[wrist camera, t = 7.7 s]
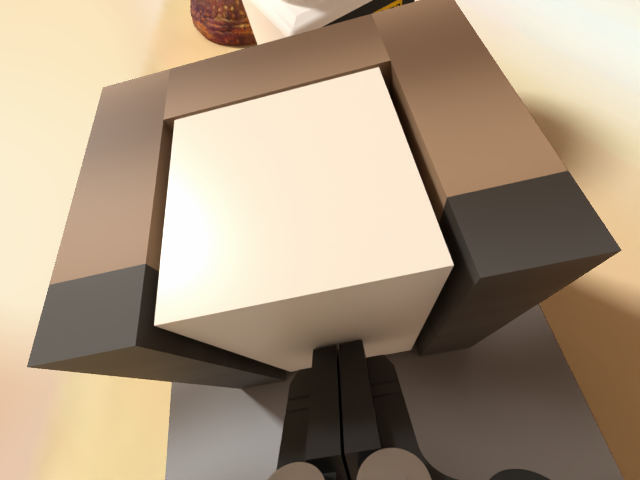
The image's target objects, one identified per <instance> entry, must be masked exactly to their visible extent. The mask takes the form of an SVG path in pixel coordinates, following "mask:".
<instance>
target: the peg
mask: <svg viewBox="0 0 640 480" xmlns="http://www.w3.org/2000/svg"><path fill="white" fill-rule="evenodd" d="M453 266H454V264H453V261H452V259H451V256H450V253H449V251H448V248H447V246H446V243H445V240H444V238H443V235H442V232H441V230H440V227H439V224H438V222H437V219H436V216H435V214H434V211H433V209H432V206H431V203H430V201H429V198H428V195H427V193H426V190H425V187H424V185H423V182H422V180H421V177H420V174H419V172H418V169H417V166H416V164H415V161H414V158H413V156H412V153H411V150H410V148H409V145H408V143H407V140H406V137H405V135H404V132H403V129H402V127H401V124H400V121H399V119H398V116H397V114H396V111H395V108H394V106H393V103H392V100H391V98H390V95H389V92H388V90H387V87H386V85H385V82H384V79H383V77H382V74H381V71H380V69H379V67H377V68H373V69H369V70H365V71H362V72H358V73H354V74H350V75H346V76H342V77H338V78H335V79H331V80H327V81H323V82H319V83H315V84H312V85H308V86H304V87H300V88H296V89H292V90H288V91H285V92H281V93H277V94H273V95H269V96H265V97H262V98H258V99H254V100H250V101H246V102H242V103H238V104H235V105H231V106H227V107H223V108H219V109H215V110H211V111H208V112H204V113H200V114H196V115H192V116H188V117H185V118H181V119H177V120H175V121H174V131H173V140H172V150H171V160H170V170H169V180H168V190H167V200H166V210H165V220H164V230H163V240H162V250H161V260H160V270H159V280H158V290H157V300H156V310H155V320H154V326H157V327H159V328H162V329H165V330H168V331H171V332H174V333H177V334H180V335H183V336H186V337H189V338H192V339H195V340H198V341H201V342H204V343H207V344H210V345H213V346H216V347H219V348H222V349H224V350H227V351H230V352H233V353H236V354H239V355H242V356H245V357H248V358H251V359H254V360H257V361H260V362H263V363H266V364H269V365H272V366H275V367H278V368H281V369H284V370H287V371H289V372H293V371H298V370H300V369H306V368H311V367H312V356H313V349H317V348H323V347H328V346H333V345H337V346H338V349H339V344H344V343H349V342H355V341H360V340H362V341H363V345H364V350H365V354H366V357H372V356H377V355H387V354H392V353H398V352H403V351H409V350H411V349H412V347H413V345H414V343H415V341H416V339H417V337H418V335H419V333H420V331H421V329H422V327H423V325H424V323H425V321H426V319H427V317H428V315H429V313H430V311H431V309H432V308H433V306H434V304H435V302H436V300H437V298H438V296H439V294H440V292H441V290H442V288H443V286H444V284H445V282H446V280H447V278H448V276H449V274H450V272H451V270H452V268H453Z"/></svg>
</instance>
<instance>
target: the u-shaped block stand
mask: <svg viewBox="0 0 640 480" xmlns="http://www.w3.org/2000/svg"><path fill="white" fill-rule="evenodd" d="M377 67H379V69H380V71H381V74H382V77H383V79H384V82H385V85H386V87H387V90H388V92H389V95H390V98H391V100H392V103H393V106H394V108H395V111H396V114H397V116H398V119H399V121H400V124H401V127H402V129H403V132H404V135H405V137H406V140H407V143H408V145H409V148H410V150H411V153H412V156H413V158H414V161H415V164H416V166H417V169H418V172H419V174H420V177H421V180H422V182H423V185H424V187H425V190H426V193H427V195H428V198H429V201H430V203H431V206H432V209H433V211H434V214H435V216H436V219H437V222H438V224H439V227H440V230H441V232H442V235H443V238H444V240H445V243H446V246H447V248H448V251H449V253H450V256H451V259H452V261H453V264H454V266H453V268H452V270H451V272H450V274H449V276H448V278H447V280H446V282H445V284H444V286H443V288H442V290H441V292H440V294H439V296H438V298H437V300H436V302H435V304H434V306H433V308H432V309H431V311H430V313H429V315H428V317H427V319H426V321H425V323H424V325H423V327H422V329H421V331H420V333H419V335H418V337H417V339H416V341H415V343H414V345H413V347H412V349H411V350H409V351H403V352H398V353H392V354H387V355H385V356H386V357H387V358H388V359H389V360H390V361H391V362H392V363H393V364H394V366H395V370H396V373H397V376H398V380H399V383H400V386H401V390H402V393H403V396H404V400H405V403H406V406H407V410H408V413H409V416H410V420H411V423H412V426H413V430H414V433H415V436H416V440H417V443H418V446H419V449H420V451H421V453H422V454H423V456H424V457H425V459H426V460H427V461H428V462H429V463H430V464H431V465H432V466H433V467H434V468H435V469H437V470H438V471H439V472H441V473H443V474H445V475H447V476H449V477H451V478H454V479H458V480H490V478H491V477H492V476H493V475H495V474H496V473H498V472H500V471H503V470H507V469H525V470H529V471H533V472H536V473H538V474H541V475H543V476H545V477H547V478H548V479H550V480H624V478H623V476H622V474H621V472H620V470H619V468H618V466H617V464H616V462H615V460H614V458H613V456H612V454H611V452H610V450H609V448H608V445H607V443H606V441H605V439H604V437H603V435H602V433H601V431H600V429H599V427H598V425H597V423H596V421H595V419H594V417H593V415H592V413H591V410H590V408H589V406H588V404H587V402H586V400H585V398H584V396H583V394H582V392H581V390H580V388H579V386H578V384H577V382H576V380H575V378H574V376H573V373H572V371H571V369H570V367H569V365H568V363H567V361H566V359H565V357H564V355H563V353H562V351H561V349H560V347H559V345H558V343H557V341H556V339H555V336H554V334H553V332H552V330H551V328H550V326H549V324H548V322H547V320H546V318H545V316H544V314H543V312H542V310H541V308H540V306H539V303H540V302H542V301H544V300H545V299H547V298H548V297H550V296H551V295H553V294H554V293H556V292H557V291H559V290H561V289H562V288H564V287H565V286H567V285H568V284H570V283H571V282H573V281H575V280H576V279H578V278H579V277H581V276H582V275H584V274H585V273H587V272H589V271H590V270H592V269H593V268H595V267H596V266H598V265H599V264H601V263H602V262H604V261H606V260H607V259H609V258H610V257H612V256H613V255H615V254H616V253H618V252H620V251H621V249H620V247H619V246H618V244H617V243H616V241H615V240H614V238H613V237H612V235H611V234H610V232H609V231H608V229H607V228H606V226H605V225H604V223H603V222H602V220H601V219H600V217H599V216H598V214H597V213H596V211H595V210H594V208H593V207H592V205H591V204H590V202H589V201H588V199H587V198H586V196H585V195H584V193H583V192H582V190H581V189H580V187H579V186H578V184H577V183H576V181H575V180H574V179H573V177H572V176H571V174H570V173H569V171H568V170H567V168H566V167H565V165H564V164H563V162H562V161H561V159H560V158H559V156H558V155H557V153H556V152H555V150H554V149H553V147H552V146H551V144H550V143H549V141H548V140H547V138H546V137H545V135H544V134H543V132H542V131H541V129H540V128H539V126H538V125H537V123H536V122H535V120H534V119H533V117H532V116H531V114H530V113H529V111H528V110H527V108H526V107H525V105H524V104H523V102H522V101H521V99H520V98H519V96H518V95H517V93H516V92H515V90H514V89H513V87H512V86H511V84H510V83H509V81H508V80H507V78H506V77H505V75H504V74H503V72H502V71H501V69H500V68H499V66H498V65H497V63H496V62H495V60H494V59H493V57H492V56H491V54H490V53H489V51H488V50H487V48H486V47H485V45H484V44H483V42H482V41H481V39H480V38H479V36H478V35H477V33H476V32H475V30H474V29H473V27H472V26H471V24H470V23H469V21H468V20H467V18H466V17H465V15H464V14H463V12H462V11H461V9H460V8H459V6H458V5H457V3H456V2H455V0H420V1H416V2H412V3H409V4H405V5H401V6H398V7H394V8H391V9H387V10H383V11H380V12H376V13H372V14H369V15H365V16H361V17H358V18H354V19H351V20H347V21H343V22H340V23H336V24H332V25H329V26H325V27H321V28H318V29H314V30H311V31H307V32H303V33H300V34H296V35H292V36H289V37H285V38H281V39H278V40H274V41H271V42H267V43H263V44H260V45H256V46H252V47H249V48H245V49H241V50H238V51H234V52H231V53H227V54H223V55H220V56H216V57H212V58H209V59H205V60H201V61H198V62H194V63H191V64H187V65H183V66H180V67H176V68H172V69H169V70H165V71H161V72H158V73H154V74H151V75H147V76H143V77H140V78H136V79H132V80H129V81H125V82H122V83H118V84H114V85H111V86H107V87H104V88H103V90H102V93H101V97H100V100H99V104H98V108H97V111H96V115H95V120H94V123H93V126H92V130H91V134H90V137H89V141H88V145H87V148H86V152H85V156H84V159H83V163H82V167H81V171H80V174H79V178H78V181H77V185H76V189H75V192H74V196H73V200H72V204H71V207H70V211H69V214H68V218H67V222H66V226H65V229H64V233H63V237H62V240H61V245H60V248H59V252H58V255H57V259H56V262H55V266H54V270H53V273H52V277H51V281H50V285H49V288H48V292H47V295H46V299H45V303H44V306H43V310H42V314H41V317H40V321H39V325H38V329H37V332H36V336H35V340H34V343H33V347H32V351H31V354H30V358H29V362H28V365H27V367H31V368H42V369H50V370H60V371H70V372H80V373H90V374H100V375H109V376H119V377H129V378H139V379H149V380H159V381H168V382H172V388H171V403H170V417H169V432H168V447H167V461H166V476H165V480H267V479H268V478H269V477H270V476H271V475H272V474H273V473H274V472H275V471H276V469H277V463H278V457H279V450H280V444H281V438H282V431H283V425H284V418H285V415H286V406H287V402H288V393H289V386H290V383H291V381H292V380H293V378H294V376H295V375H296V373H297V372H298V371H293V372H289V371H287V370H284V369H281V368H278V367H275V366H272V365H269V364H266V363H263V362H260V361H257V360H254V359H251V358H248V357H245V356H242V355H239V354H236V353H233V352H230V351H227V350H224V349H222V348H219V347H216V346H213V345H210V344H207V343H204V342H201V341H198V340H195V339H192V338H189V337H186V336H183V335H180V334H177V333H174V332H171V331H168V330H165V329H162V328H159V327H157V326H154V320H155V310H156V300H157V290H158V280H159V270H160V260H161V250H162V240H163V230H164V220H165V210H166V200H167V190H168V180H169V170H170V160H171V150H172V140H173V131H174V121H175V120H177V119H181V118H185V117H188V116H192V115H196V114H200V113H204V112H208V111H211V110H215V109H219V108H223V107H227V106H231V105H235V104H238V103H242V102H246V101H250V100H254V99H258V98H262V97H265V96H269V95H273V94H277V93H281V92H285V91H288V90H292V89H296V88H300V87H304V86H308V85H312V84H315V83H319V82H323V81H327V80H331V79H335V78H338V77H342V76H346V75H350V74H354V73H358V72H362V71H365V70H369V69H373V68H377Z"/></svg>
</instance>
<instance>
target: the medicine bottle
mask: <svg viewBox="0 0 640 480" xmlns="http://www.w3.org/2000/svg"><path fill="white" fill-rule="evenodd" d="M242 2H243V5H244V8H245V11H246V13H247V16H248V19H249V22H250V25H251V28H252V30H253V33H254V36H255V39H256V42H257V45H260V44H263V43H267V42H271V41H274V40H278V39H281V38H285V37H289V36H292V35H296V34H300V33H303V32H307V31H311V30H314V29H318V28H321V27H325V26H329V25H332V24H336V23H340V22H343V21H347V20H351V19H354V18H358V17H361V16H365V15H369V14H372V13H376V12H380V11H383V10H387V9H391V8H394V7H398V6H401V5H405V4H409V3H412V2H414V0H242Z"/></svg>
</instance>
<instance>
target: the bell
mask: <svg viewBox="0 0 640 480" xmlns="http://www.w3.org/2000/svg"><path fill="white" fill-rule="evenodd" d="M226 1H227V2H226ZM190 8H191V16H192V19H193V24H194V26H195V27H196V28H197V30H198V31H199V32H200V33H201V34H202V35H203V36H204V37H206V38H207V39H209V40H211V41H214V42H218V43H221V44H227V45H249V44H254V43H257V42H256V39H255V36H254V33H253V30H252V28H251V25H250V22H249V19H248V16H247V13H246V11H245V8H244V5H243V2H242V0H191V6H190ZM203 26H204V27H203ZM235 32H236V33H235Z"/></svg>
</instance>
